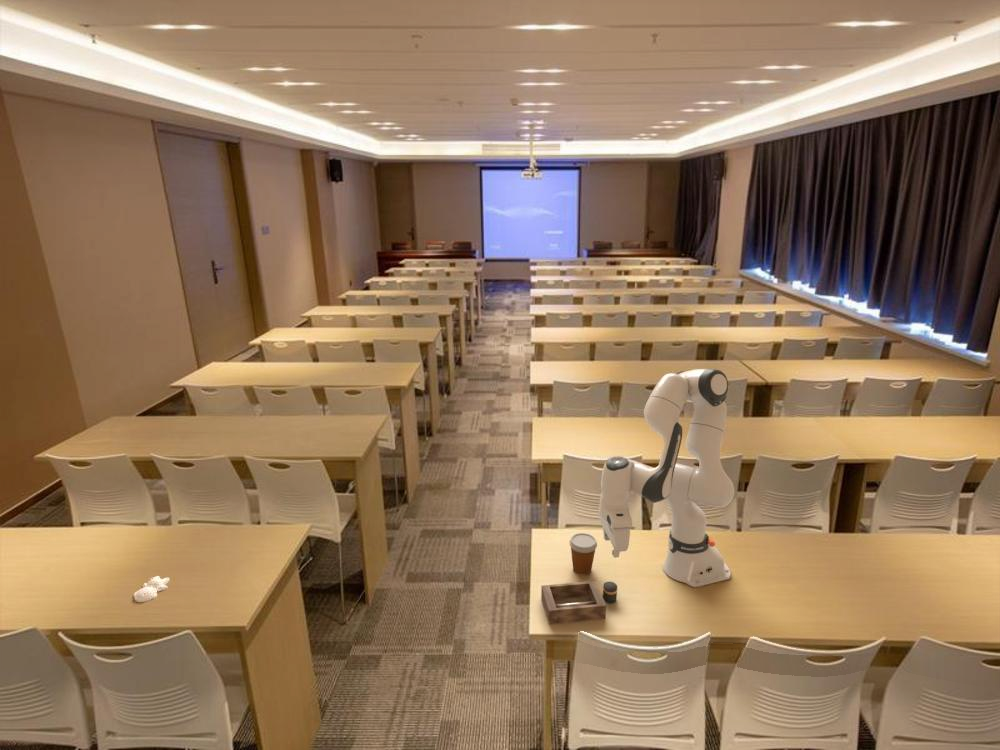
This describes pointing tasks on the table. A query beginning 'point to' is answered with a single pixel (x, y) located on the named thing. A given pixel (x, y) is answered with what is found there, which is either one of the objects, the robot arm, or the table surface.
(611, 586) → the orange-banded dark cylinder
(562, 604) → the metal rod
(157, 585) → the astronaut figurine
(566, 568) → the table surface
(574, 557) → the disposable coffee cup
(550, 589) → the brown wooden frame
